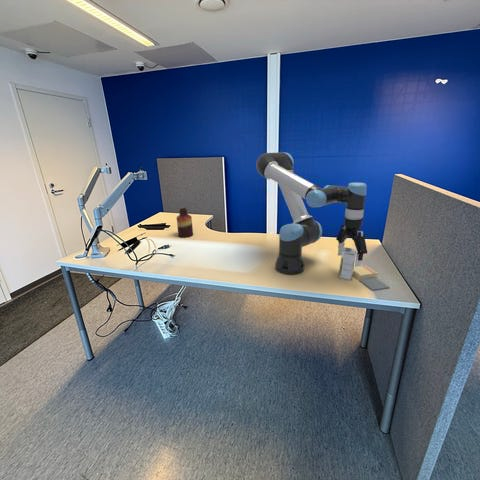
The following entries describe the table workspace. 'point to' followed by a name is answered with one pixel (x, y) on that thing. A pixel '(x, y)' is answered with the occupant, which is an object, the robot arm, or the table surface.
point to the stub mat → (374, 284)
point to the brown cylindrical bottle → (184, 224)
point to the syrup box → (347, 263)
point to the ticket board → (364, 272)
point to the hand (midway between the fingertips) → (348, 260)
